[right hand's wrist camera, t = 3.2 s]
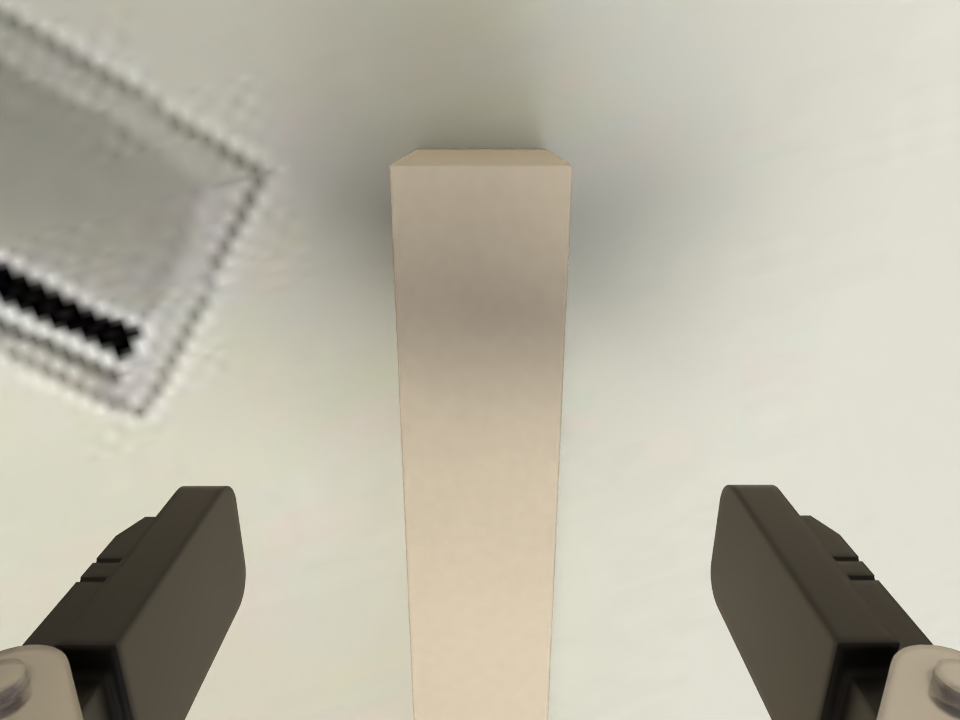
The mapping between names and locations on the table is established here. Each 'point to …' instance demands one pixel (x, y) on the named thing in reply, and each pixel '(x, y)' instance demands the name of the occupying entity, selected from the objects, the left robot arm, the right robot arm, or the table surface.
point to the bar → (480, 420)
